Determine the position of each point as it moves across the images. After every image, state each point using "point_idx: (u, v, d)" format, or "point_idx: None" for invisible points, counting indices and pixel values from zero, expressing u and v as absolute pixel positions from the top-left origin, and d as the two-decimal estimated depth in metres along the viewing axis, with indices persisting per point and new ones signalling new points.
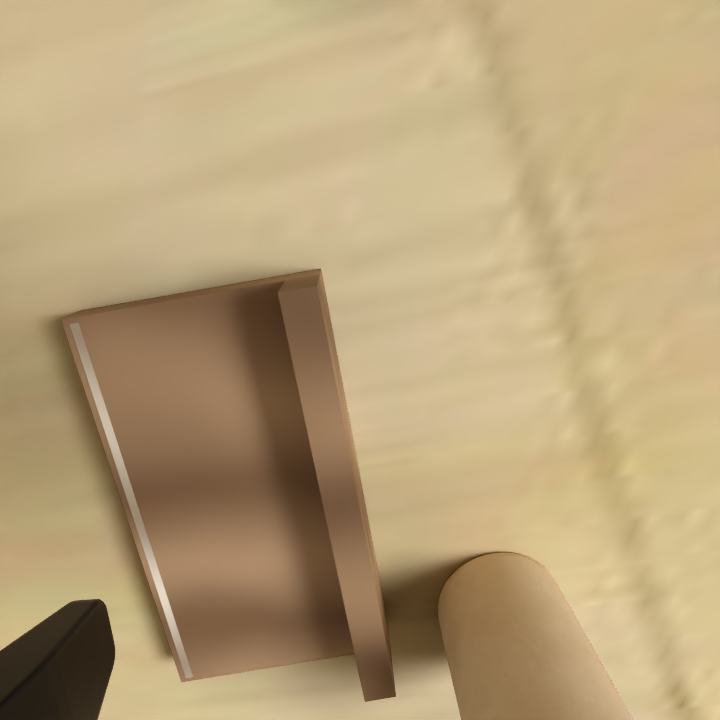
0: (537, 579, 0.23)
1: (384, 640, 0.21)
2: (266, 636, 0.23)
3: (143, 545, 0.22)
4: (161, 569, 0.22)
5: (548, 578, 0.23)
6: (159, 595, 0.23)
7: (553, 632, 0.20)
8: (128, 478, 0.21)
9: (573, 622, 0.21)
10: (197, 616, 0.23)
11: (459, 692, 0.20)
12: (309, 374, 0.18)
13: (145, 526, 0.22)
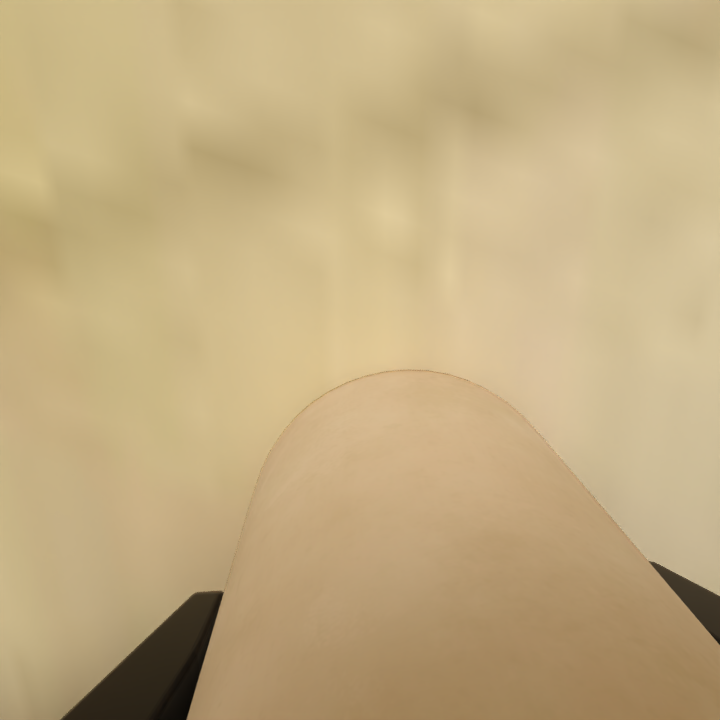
0: (256, 494, 0.08)
1: None
2: None
3: None
4: None
5: (288, 440, 0.09)
6: None
7: None
8: None
9: (274, 525, 0.06)
10: None
11: None
12: None
13: None
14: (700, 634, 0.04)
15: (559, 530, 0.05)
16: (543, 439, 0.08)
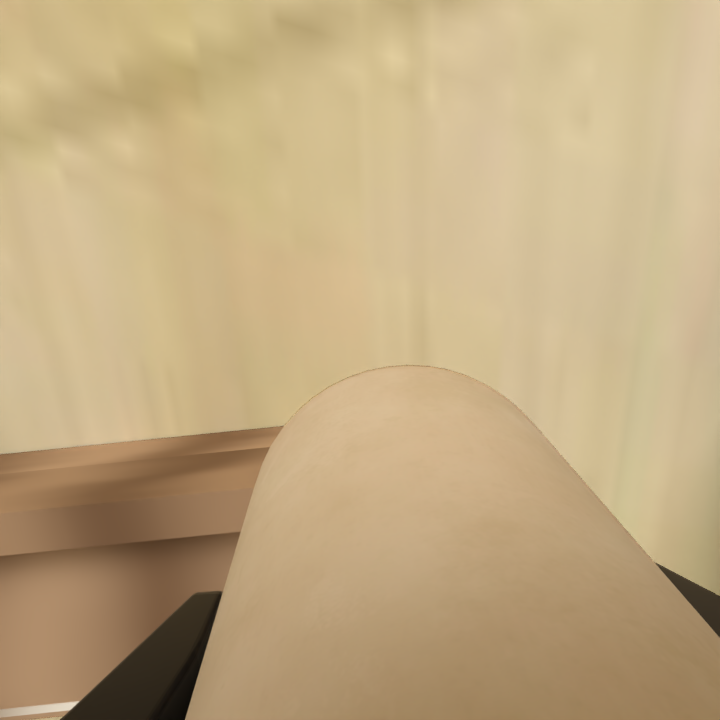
0: (257, 487, 0.08)
1: None
2: None
3: None
4: None
5: (289, 434, 0.09)
6: None
7: None
8: None
9: (276, 515, 0.06)
10: None
11: None
12: None
13: None
14: (694, 618, 0.04)
15: (557, 517, 0.05)
16: (541, 433, 0.08)
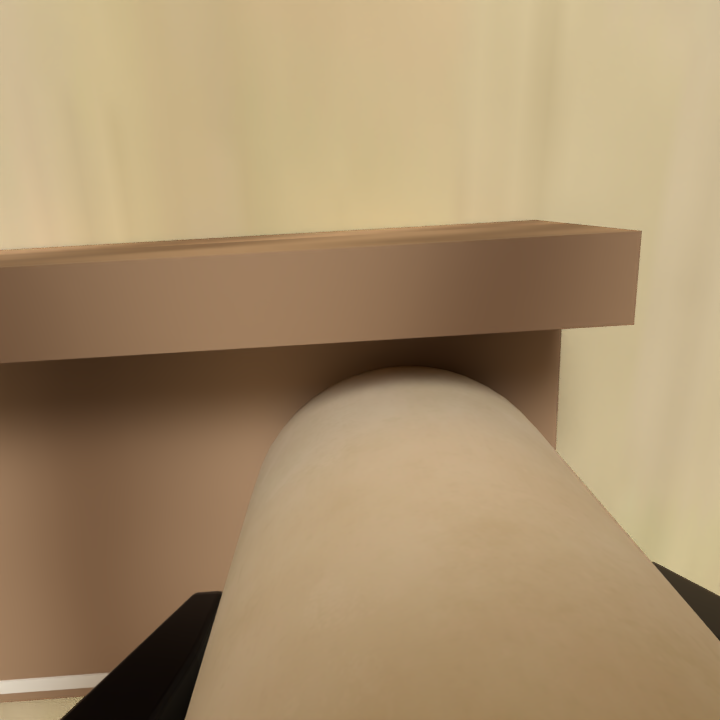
0: (257, 487, 0.08)
1: (433, 244, 0.07)
2: None
3: None
4: None
5: (289, 434, 0.09)
6: None
7: None
8: (73, 676, 0.11)
9: (275, 516, 0.06)
10: None
11: None
12: None
13: None
14: (691, 618, 0.05)
15: (555, 518, 0.05)
16: (540, 434, 0.09)
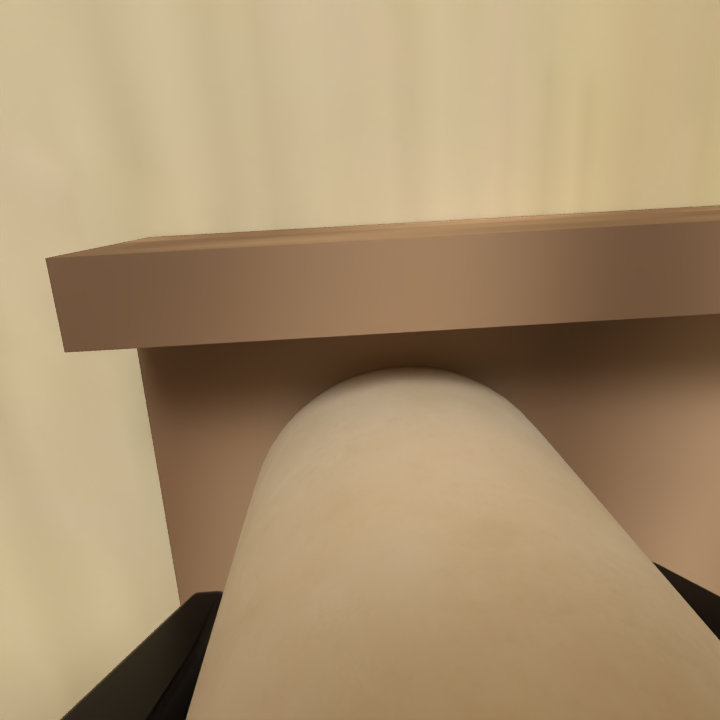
0: (258, 488, 0.08)
1: None
2: None
3: None
4: None
5: (289, 435, 0.09)
6: None
7: (198, 677, 0.06)
8: None
9: (276, 516, 0.06)
10: None
11: None
12: (272, 305, 0.07)
13: None
14: (692, 619, 0.05)
15: (556, 519, 0.05)
16: (541, 434, 0.09)
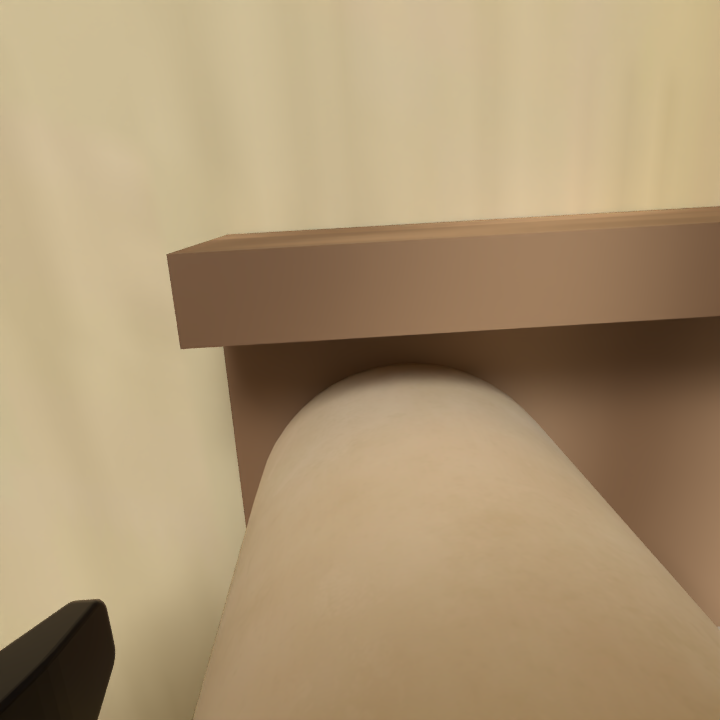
0: (263, 483, 0.09)
1: None
2: None
3: None
4: None
5: (294, 430, 0.09)
6: None
7: (207, 666, 0.06)
8: None
9: (283, 509, 0.07)
10: None
11: None
12: (389, 300, 0.07)
13: None
14: (691, 607, 0.05)
15: (558, 511, 0.05)
16: (543, 430, 0.09)
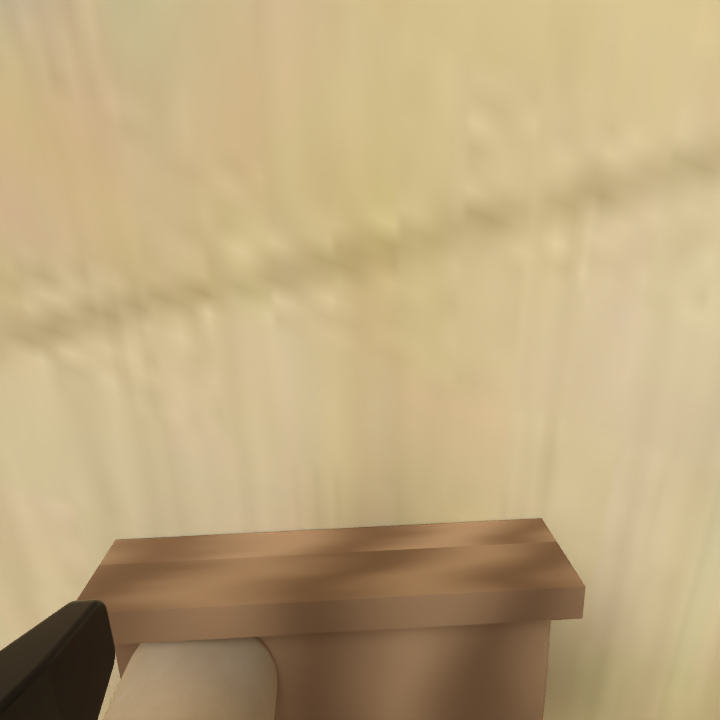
0: (117, 687, 0.19)
1: (501, 590, 0.18)
2: (505, 658, 0.21)
3: None
4: None
5: (135, 659, 0.19)
6: None
7: None
8: None
9: None
10: (463, 713, 0.22)
11: None
12: (160, 629, 0.17)
13: None
14: None
15: None
16: (247, 663, 0.19)
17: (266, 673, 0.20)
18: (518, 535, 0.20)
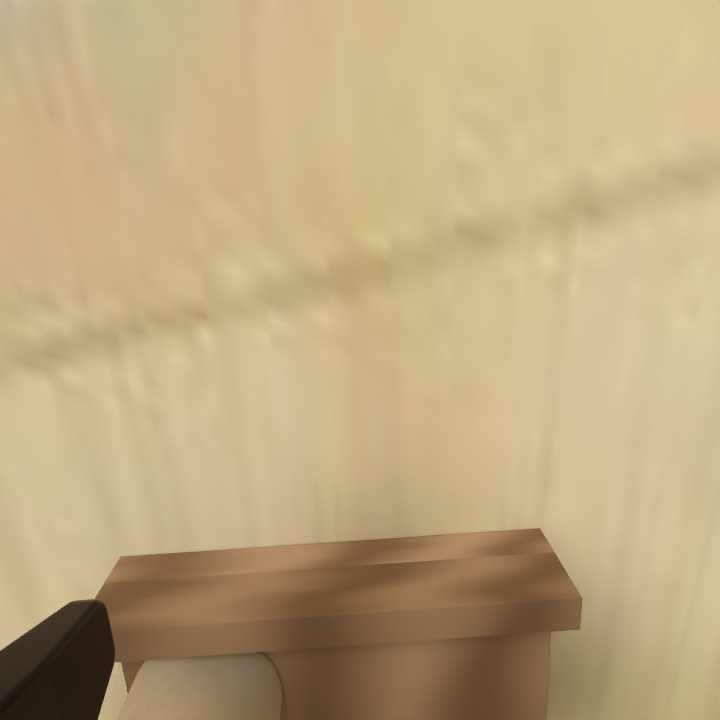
0: (124, 702, 0.19)
1: (499, 602, 0.18)
2: (506, 667, 0.21)
3: None
4: None
5: (141, 675, 0.19)
6: None
7: None
8: None
9: None
10: None
11: None
12: (164, 646, 0.18)
13: None
14: None
15: None
16: (250, 677, 0.19)
17: (270, 686, 0.20)
18: (516, 546, 0.21)
